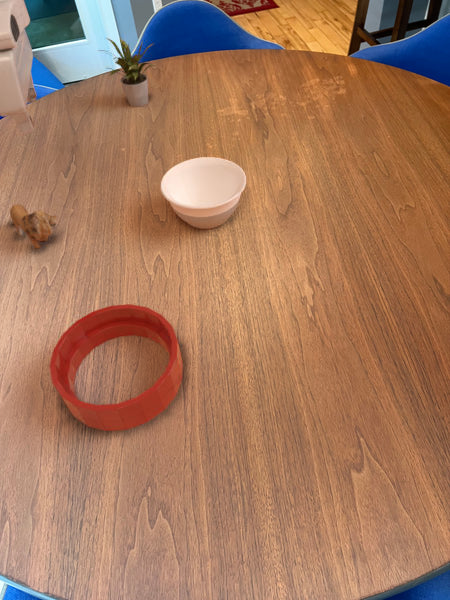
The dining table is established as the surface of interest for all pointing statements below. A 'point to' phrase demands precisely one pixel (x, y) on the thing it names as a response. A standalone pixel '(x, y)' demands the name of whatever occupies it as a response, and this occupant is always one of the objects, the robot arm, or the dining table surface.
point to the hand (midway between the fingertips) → (30, 115)
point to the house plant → (132, 75)
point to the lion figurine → (33, 223)
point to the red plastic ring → (100, 330)
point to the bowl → (204, 190)
